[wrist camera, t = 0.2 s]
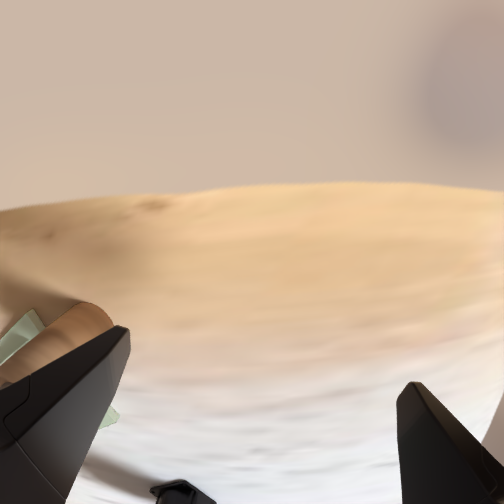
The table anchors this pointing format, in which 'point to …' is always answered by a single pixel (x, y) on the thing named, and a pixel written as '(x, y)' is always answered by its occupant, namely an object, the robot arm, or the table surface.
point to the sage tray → (22, 335)
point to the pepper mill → (55, 341)
